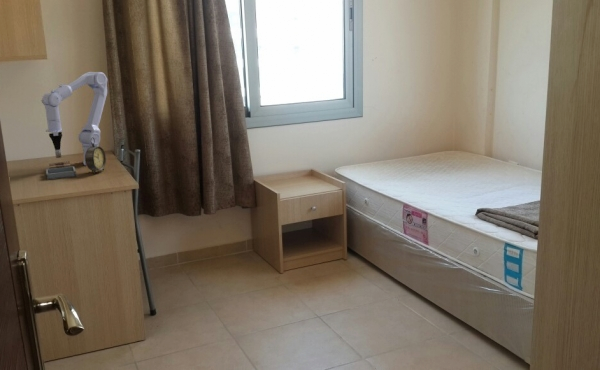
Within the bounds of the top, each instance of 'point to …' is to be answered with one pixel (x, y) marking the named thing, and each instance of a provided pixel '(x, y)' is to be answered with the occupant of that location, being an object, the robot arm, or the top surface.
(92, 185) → the top surface
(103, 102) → the robot arm
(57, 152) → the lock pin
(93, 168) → the alarm clock
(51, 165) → the block
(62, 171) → the tray
